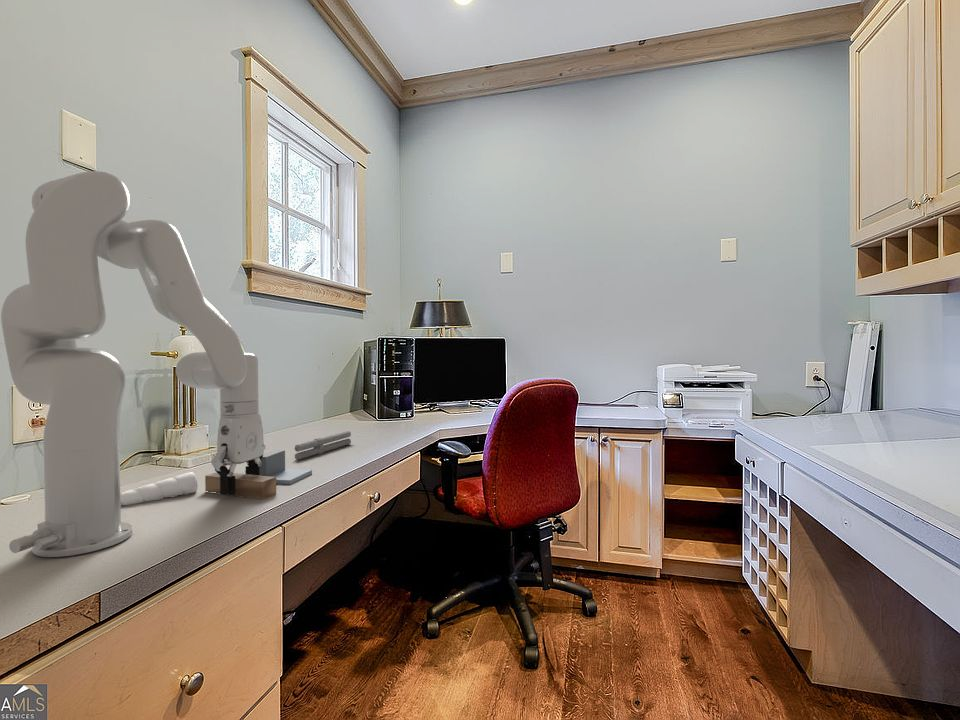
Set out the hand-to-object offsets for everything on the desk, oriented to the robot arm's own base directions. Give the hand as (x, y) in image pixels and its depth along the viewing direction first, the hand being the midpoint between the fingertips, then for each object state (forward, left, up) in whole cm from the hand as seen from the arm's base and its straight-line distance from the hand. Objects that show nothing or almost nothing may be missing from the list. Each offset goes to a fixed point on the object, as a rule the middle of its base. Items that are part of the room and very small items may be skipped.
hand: (240, 488), depth 106 cm
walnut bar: (0, 0, -1) cm, 1 cm away
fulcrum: (+13, +1, -1) cm, 13 cm away
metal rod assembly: (+44, +3, -1) cm, 44 cm away
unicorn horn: (-9, +17, -2) cm, 19 cm away
